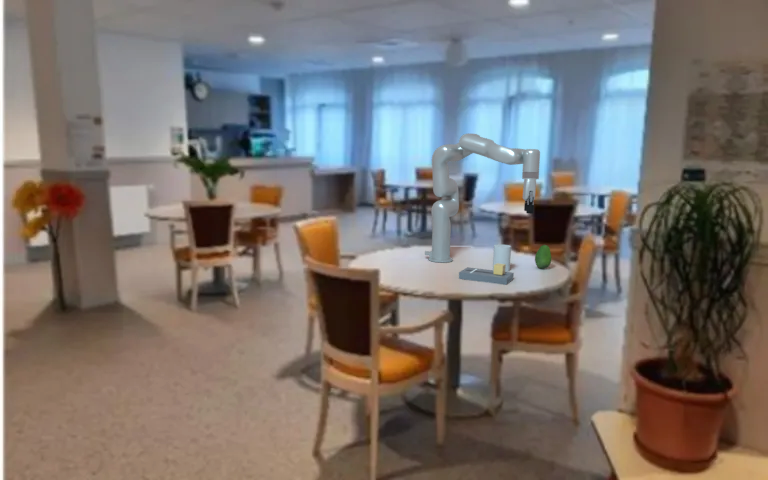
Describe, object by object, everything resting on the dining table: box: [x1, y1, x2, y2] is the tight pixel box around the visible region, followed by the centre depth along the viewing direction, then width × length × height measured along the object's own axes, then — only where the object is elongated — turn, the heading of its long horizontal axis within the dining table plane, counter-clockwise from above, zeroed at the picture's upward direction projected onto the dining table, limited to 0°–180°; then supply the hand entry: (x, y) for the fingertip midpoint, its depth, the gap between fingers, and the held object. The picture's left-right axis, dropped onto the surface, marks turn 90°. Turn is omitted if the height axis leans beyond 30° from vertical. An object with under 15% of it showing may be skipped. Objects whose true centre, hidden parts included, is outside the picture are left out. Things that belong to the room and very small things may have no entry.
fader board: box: [458, 267, 514, 286], centre depth 265 cm, size 22×12×3 cm, turn 63°
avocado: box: [534, 244, 552, 270], centre depth 288 cm, size 8×8×12 cm
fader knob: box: [494, 263, 506, 275], centre depth 262 cm, size 4×5×4 cm
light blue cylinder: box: [492, 243, 512, 272], centre depth 283 cm, size 8×8×12 cm
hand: (528, 212), depth 275 cm, fingers open, 9 cm apart
